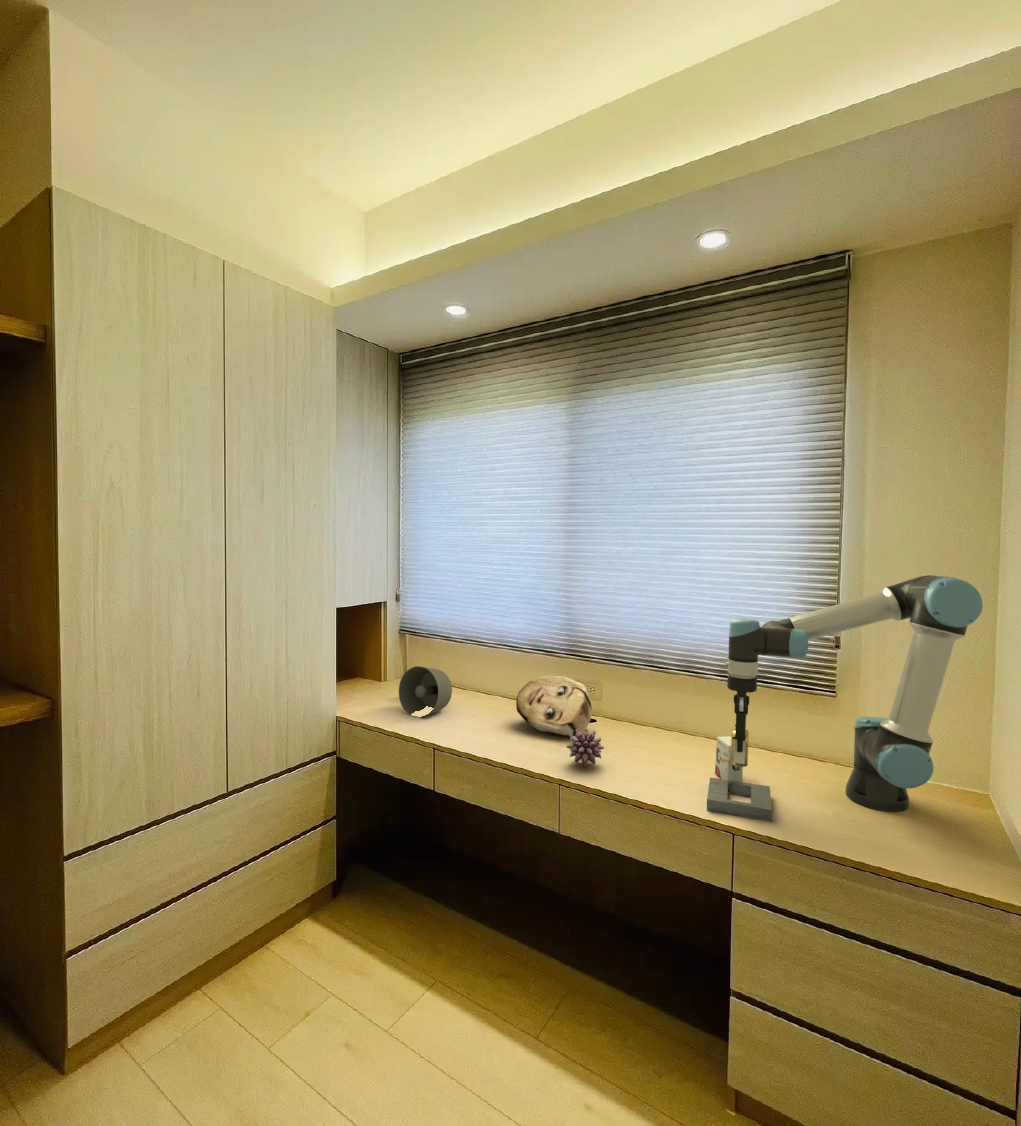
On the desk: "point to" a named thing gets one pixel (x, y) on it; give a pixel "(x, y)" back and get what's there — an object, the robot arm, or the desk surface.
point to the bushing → (745, 748)
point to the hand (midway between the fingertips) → (739, 759)
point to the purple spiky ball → (585, 747)
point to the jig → (755, 809)
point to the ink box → (726, 761)
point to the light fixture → (424, 689)
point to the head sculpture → (555, 705)
